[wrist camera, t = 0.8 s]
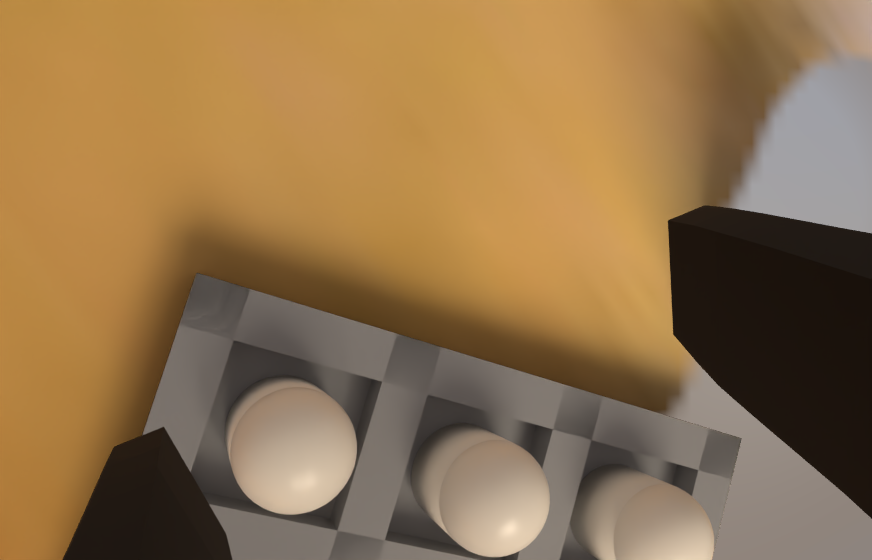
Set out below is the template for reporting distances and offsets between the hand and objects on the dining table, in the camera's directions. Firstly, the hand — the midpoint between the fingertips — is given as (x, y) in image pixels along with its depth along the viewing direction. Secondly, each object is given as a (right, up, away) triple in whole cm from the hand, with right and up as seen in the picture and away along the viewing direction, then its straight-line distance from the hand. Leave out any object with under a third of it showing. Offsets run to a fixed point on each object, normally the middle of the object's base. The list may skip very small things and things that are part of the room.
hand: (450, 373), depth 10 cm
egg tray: (-1, -11, +22) cm, 25 cm away
